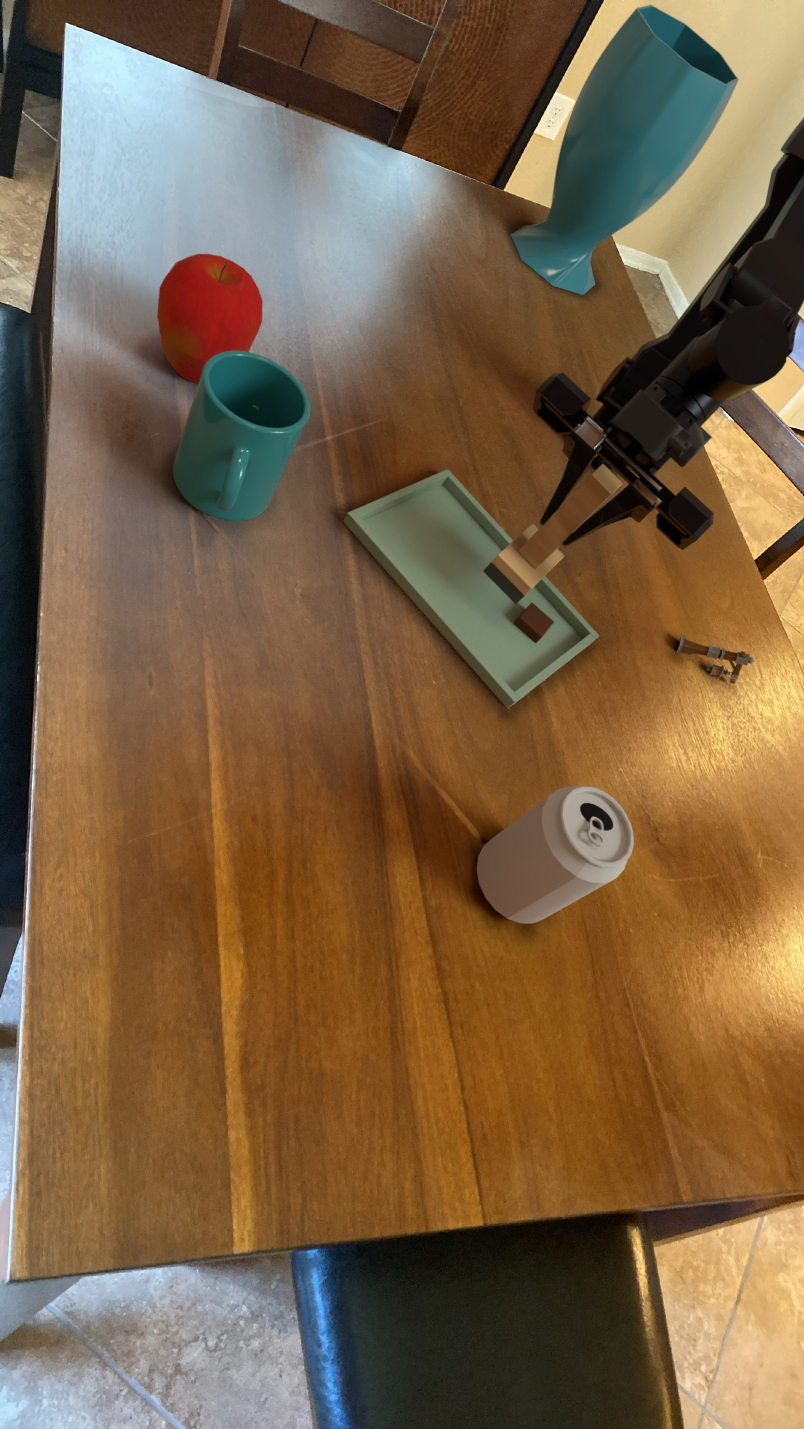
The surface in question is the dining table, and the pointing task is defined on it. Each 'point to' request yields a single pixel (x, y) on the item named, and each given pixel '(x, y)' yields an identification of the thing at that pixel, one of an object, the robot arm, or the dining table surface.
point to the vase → (627, 141)
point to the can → (555, 854)
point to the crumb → (533, 622)
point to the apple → (206, 312)
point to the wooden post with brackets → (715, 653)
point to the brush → (548, 537)
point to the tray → (467, 583)
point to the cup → (239, 435)
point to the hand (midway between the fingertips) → (552, 534)
